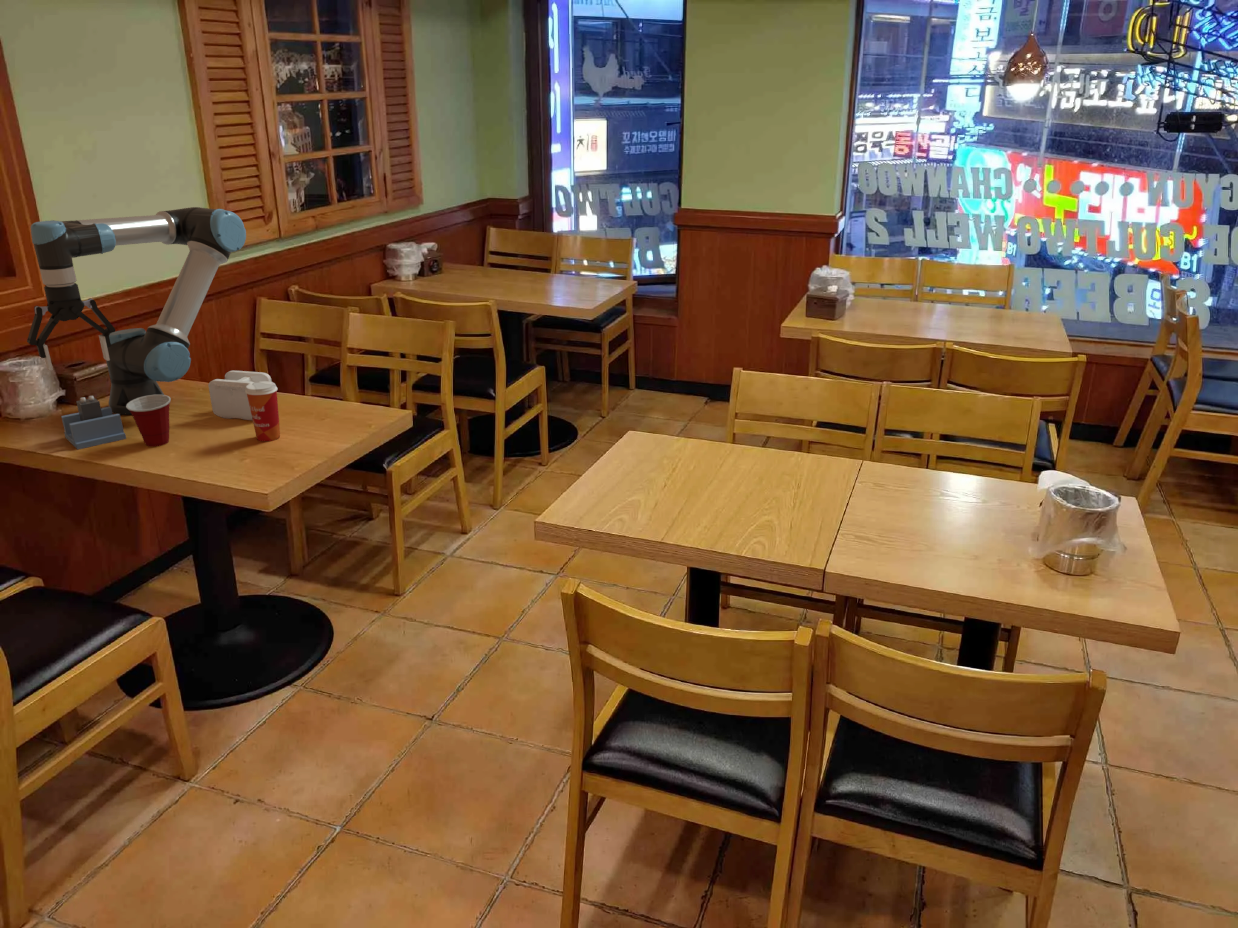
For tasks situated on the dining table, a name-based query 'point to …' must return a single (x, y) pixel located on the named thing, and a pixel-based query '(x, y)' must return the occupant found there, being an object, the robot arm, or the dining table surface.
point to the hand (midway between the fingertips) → (79, 364)
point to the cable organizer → (234, 393)
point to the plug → (89, 408)
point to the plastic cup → (152, 418)
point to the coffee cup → (264, 410)
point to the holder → (93, 429)
